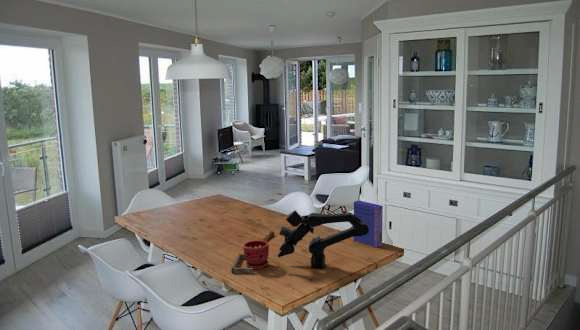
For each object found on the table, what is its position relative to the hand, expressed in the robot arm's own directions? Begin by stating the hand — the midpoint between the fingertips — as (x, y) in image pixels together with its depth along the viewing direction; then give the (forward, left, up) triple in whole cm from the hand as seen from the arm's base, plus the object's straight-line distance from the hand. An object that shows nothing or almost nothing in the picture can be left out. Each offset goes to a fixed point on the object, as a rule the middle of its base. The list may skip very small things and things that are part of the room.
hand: (278, 253), depth 240 cm
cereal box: (-29, -53, -7) cm, 61 cm away
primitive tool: (+27, -31, -8) cm, 42 cm away
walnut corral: (+15, +7, -7) cm, 18 cm away
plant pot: (+11, +5, -7) cm, 14 cm away
